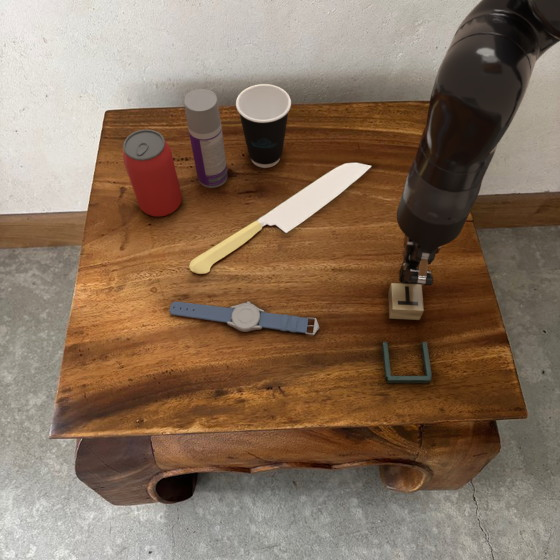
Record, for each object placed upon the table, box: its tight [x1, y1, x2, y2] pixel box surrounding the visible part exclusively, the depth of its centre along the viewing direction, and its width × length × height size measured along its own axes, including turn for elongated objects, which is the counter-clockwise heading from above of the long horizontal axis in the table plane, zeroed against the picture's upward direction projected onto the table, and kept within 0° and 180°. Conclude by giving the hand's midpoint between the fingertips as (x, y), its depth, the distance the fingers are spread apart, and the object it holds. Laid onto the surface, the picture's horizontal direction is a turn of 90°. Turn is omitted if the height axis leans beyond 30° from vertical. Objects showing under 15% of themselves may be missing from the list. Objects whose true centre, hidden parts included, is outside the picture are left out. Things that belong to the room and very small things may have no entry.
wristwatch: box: [169, 301, 321, 336], centre depth 72 cm, size 4×20×1 cm, turn 81°
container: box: [183, 88, 229, 189], centre depth 79 cm, size 5×5×15 cm
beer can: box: [122, 128, 183, 217], centre depth 78 cm, size 7×7×12 cm
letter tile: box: [387, 282, 425, 321], centre depth 72 cm, size 4×4×3 cm
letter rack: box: [381, 341, 433, 384], centre depth 69 cm, size 5×6×1 cm
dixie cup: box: [235, 83, 292, 169], centre depth 83 cm, size 8×8×11 cm
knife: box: [188, 162, 372, 275], centre depth 81 cm, size 1×34×5 cm
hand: (406, 278), depth 74 cm, fingers closed
